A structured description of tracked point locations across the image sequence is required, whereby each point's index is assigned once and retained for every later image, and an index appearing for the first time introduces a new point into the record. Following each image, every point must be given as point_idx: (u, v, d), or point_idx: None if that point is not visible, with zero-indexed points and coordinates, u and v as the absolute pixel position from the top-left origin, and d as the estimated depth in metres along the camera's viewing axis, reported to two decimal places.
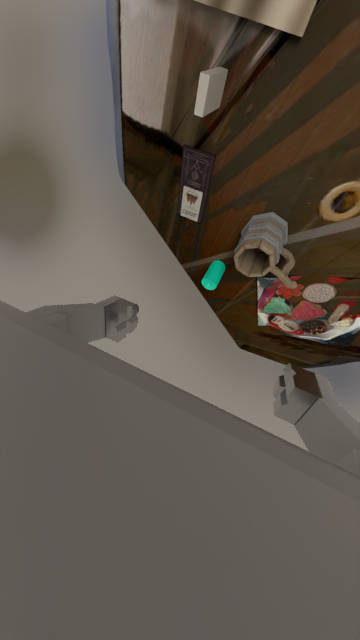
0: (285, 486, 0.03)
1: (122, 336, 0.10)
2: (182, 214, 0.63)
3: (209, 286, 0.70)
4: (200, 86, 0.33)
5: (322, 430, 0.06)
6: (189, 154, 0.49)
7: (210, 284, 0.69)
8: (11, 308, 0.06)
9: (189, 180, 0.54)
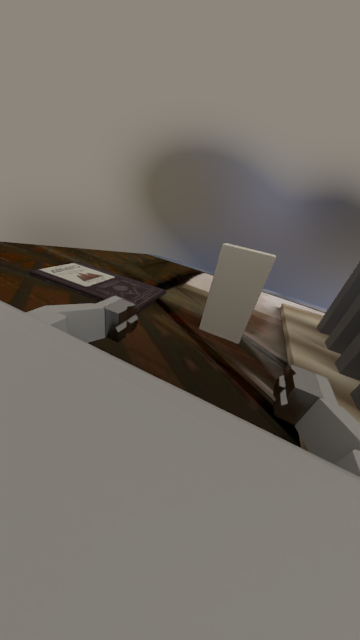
0: (285, 486, 0.03)
1: (122, 336, 0.10)
2: (72, 264, 0.33)
3: None
4: (259, 251, 0.18)
5: (321, 430, 0.06)
6: (152, 291, 0.29)
7: None
8: (11, 308, 0.06)
9: (118, 282, 0.30)
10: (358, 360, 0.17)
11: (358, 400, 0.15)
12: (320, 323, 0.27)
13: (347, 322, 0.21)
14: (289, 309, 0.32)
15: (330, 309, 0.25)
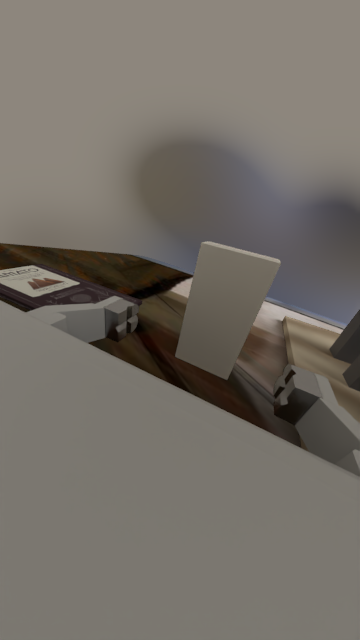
0: (285, 486, 0.03)
1: (122, 336, 0.10)
2: (30, 267, 0.27)
3: None
4: (256, 254, 0.12)
5: (321, 430, 0.06)
6: None
7: None
8: (11, 308, 0.06)
9: (81, 290, 0.24)
10: None
11: None
12: (334, 345, 0.21)
13: None
14: (293, 324, 0.26)
15: (349, 329, 0.19)
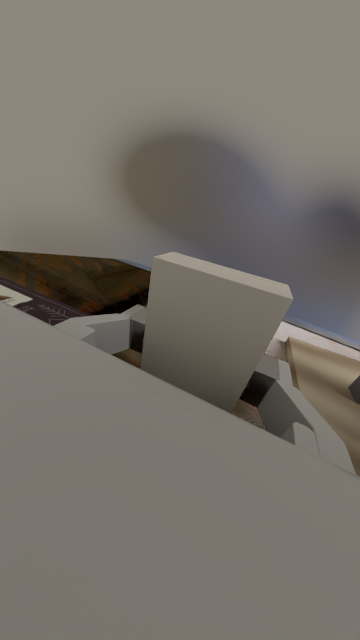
0: (285, 487, 0.03)
1: None
2: None
3: None
4: (249, 276, 0.07)
5: (276, 409, 0.07)
6: None
7: None
8: (11, 308, 0.06)
9: (29, 309, 0.19)
10: None
11: None
12: (356, 384, 0.16)
13: None
14: (300, 349, 0.21)
15: None
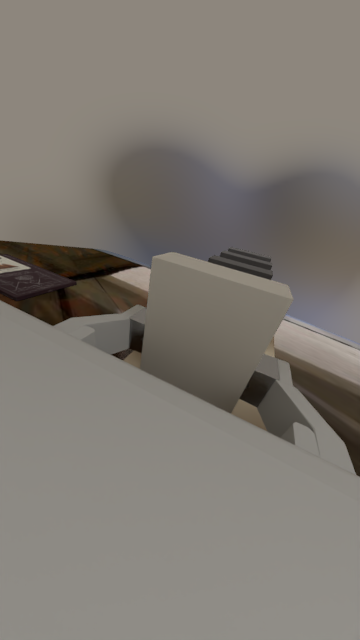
0: (285, 487, 0.03)
1: None
2: None
3: None
4: (249, 276, 0.07)
5: (276, 409, 0.07)
6: (59, 281, 0.30)
7: None
8: (11, 308, 0.06)
9: (28, 272, 0.31)
10: None
11: None
12: None
13: None
14: None
15: None
